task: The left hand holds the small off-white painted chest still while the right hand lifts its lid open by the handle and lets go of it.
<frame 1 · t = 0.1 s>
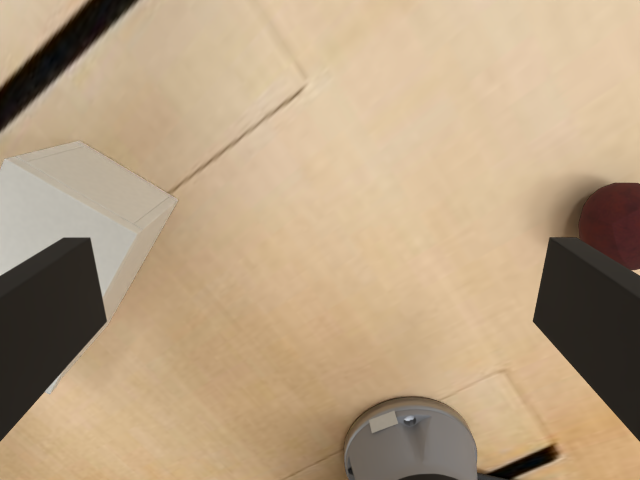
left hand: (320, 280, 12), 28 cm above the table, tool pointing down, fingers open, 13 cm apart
lid: (1, 308, 30), point 13 cm above the table, hinge at 0.0°
chest: (94, 240, 42), on the table
potato: (600, 212, 41), on the table
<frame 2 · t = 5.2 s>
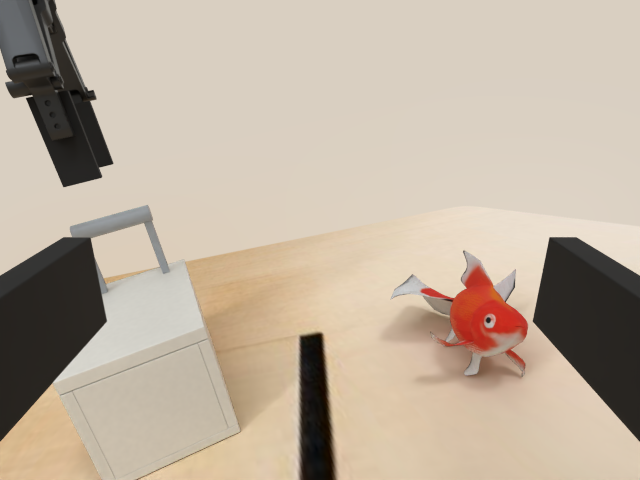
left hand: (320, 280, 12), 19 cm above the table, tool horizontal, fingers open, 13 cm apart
lid: (122, 274, 36), point 13 cm above the table, hinge at 0.0°
fish: (461, 346, 38), on the table
chest: (171, 398, 40), on the table
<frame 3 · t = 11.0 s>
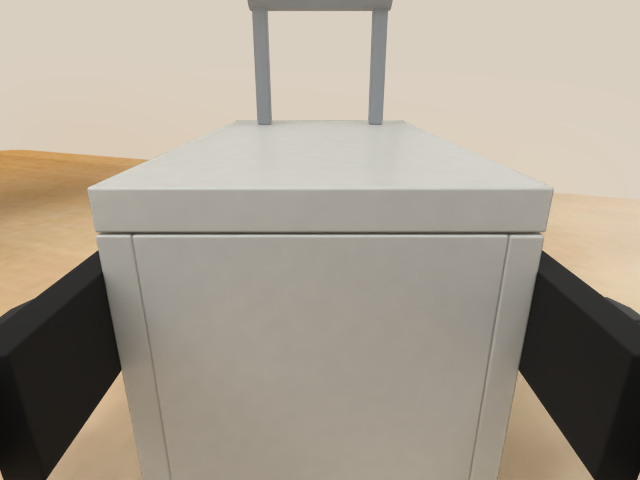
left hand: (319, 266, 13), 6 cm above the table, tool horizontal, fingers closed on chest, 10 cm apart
lid: (320, 57, 16), point 13 cm above the table, hinge at 0.0°
chest: (320, 349, 20), on the table, touching left hand
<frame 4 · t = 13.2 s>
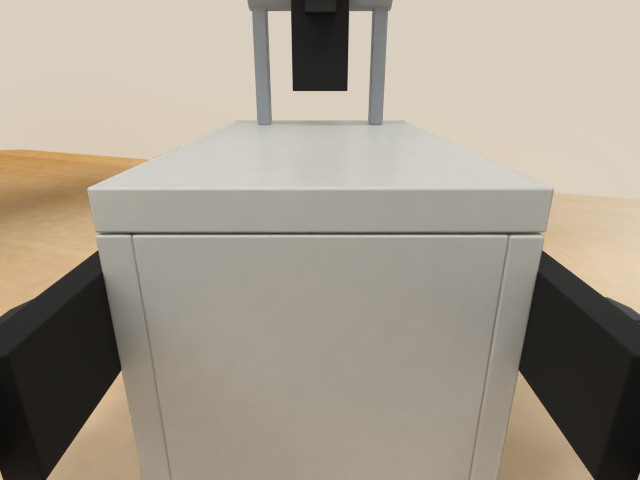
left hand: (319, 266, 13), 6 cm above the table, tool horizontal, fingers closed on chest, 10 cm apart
lid: (320, 57, 16), point 13 cm above the table, hinge at -0.1°, touching right hand
chest: (320, 349, 20), on the table, touching left hand
when the left hand's fingers open (6 cm above the table, at t = 21.4 s): chest stays where it is, on the table.
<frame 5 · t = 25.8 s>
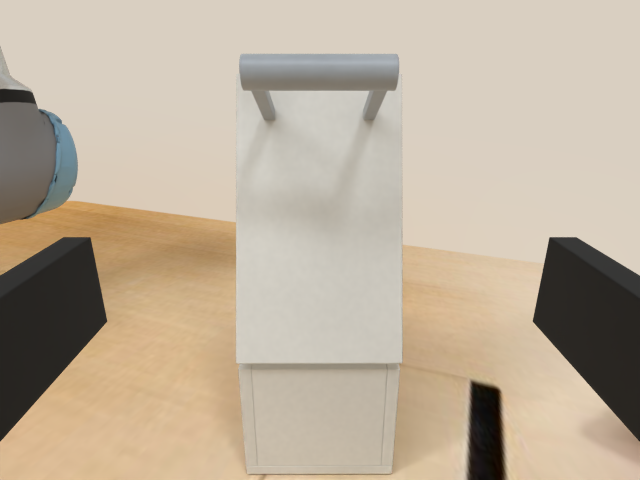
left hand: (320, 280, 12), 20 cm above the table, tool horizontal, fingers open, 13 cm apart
lid: (319, 214, 23), point 19 cm above the table, hinge at 69.3°
chest: (319, 392, 37), on the table
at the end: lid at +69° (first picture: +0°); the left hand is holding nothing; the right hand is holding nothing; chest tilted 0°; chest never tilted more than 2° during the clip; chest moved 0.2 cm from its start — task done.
